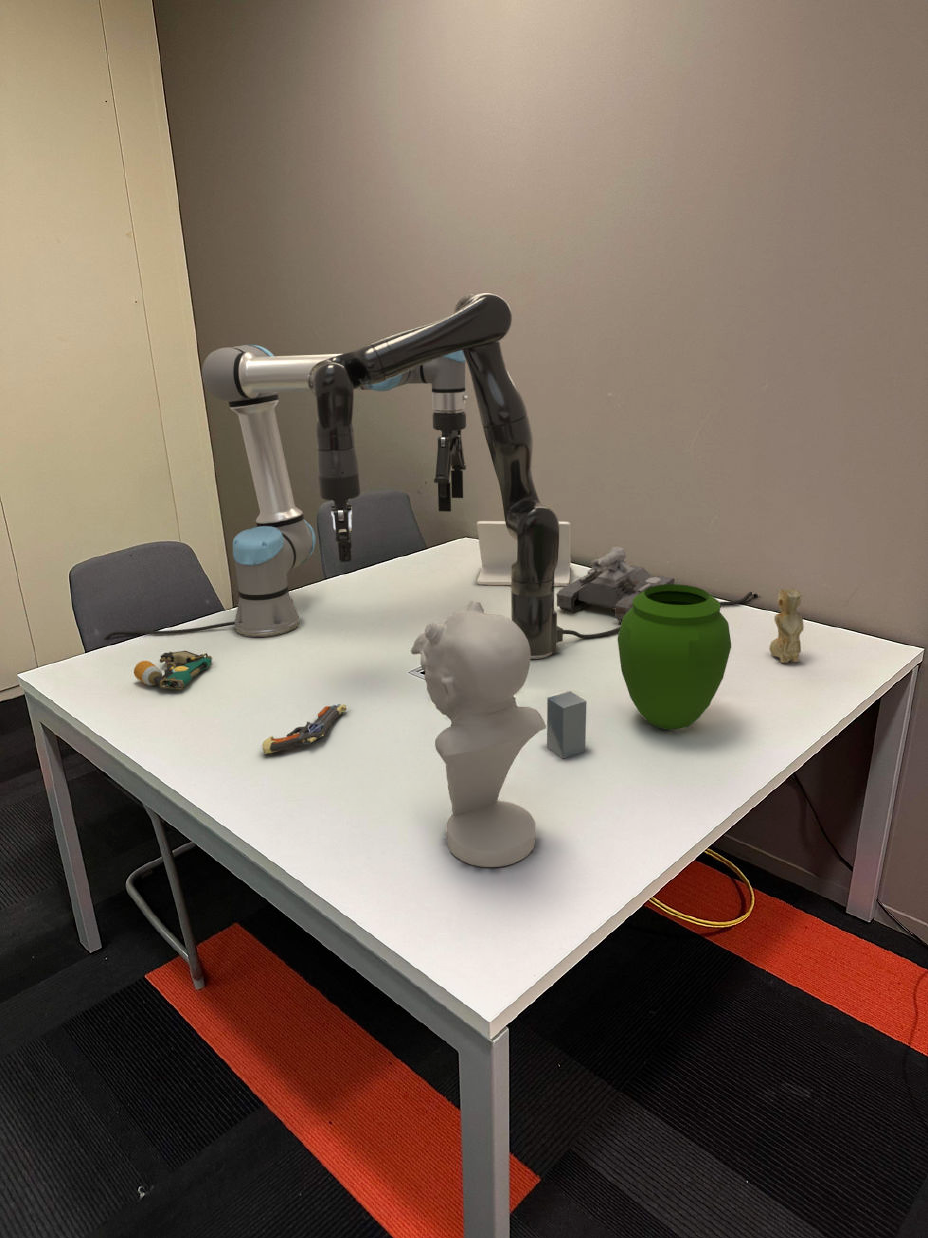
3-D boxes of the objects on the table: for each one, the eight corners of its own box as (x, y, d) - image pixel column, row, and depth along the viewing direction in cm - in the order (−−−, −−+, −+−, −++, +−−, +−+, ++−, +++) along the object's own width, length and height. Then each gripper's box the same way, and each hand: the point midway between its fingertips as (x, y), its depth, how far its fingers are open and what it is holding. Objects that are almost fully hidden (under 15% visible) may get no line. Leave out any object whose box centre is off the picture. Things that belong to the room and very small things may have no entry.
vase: (737, 711, 158) (749, 586, 150) (704, 757, 143) (715, 621, 134) (638, 689, 168) (643, 571, 160) (597, 730, 153) (601, 602, 144)
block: (569, 740, 150) (570, 690, 147) (585, 751, 146) (586, 701, 143) (546, 747, 148) (547, 697, 145) (562, 759, 144) (563, 708, 141)
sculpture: (791, 651, 184) (798, 585, 178) (805, 664, 177) (813, 596, 172) (764, 652, 183) (771, 586, 178) (777, 666, 177) (784, 597, 171)
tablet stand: (569, 585, 229) (570, 524, 223) (476, 584, 232) (475, 523, 226) (570, 566, 246) (571, 508, 240) (484, 564, 249) (483, 507, 243)
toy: (603, 584, 229) (605, 530, 224) (673, 597, 218) (677, 540, 213) (555, 612, 210) (556, 553, 205) (630, 627, 199) (633, 566, 194)
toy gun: (257, 744, 147) (311, 741, 145) (297, 702, 165) (346, 699, 162) (260, 758, 147) (314, 756, 145) (300, 715, 165) (349, 712, 163)
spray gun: (177, 659, 191) (231, 671, 185) (120, 684, 176) (176, 698, 171) (176, 641, 190) (230, 653, 184) (118, 665, 175) (174, 678, 169)
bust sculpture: (481, 772, 140) (476, 569, 128) (565, 848, 120) (569, 617, 108) (392, 800, 134) (378, 588, 121) (465, 886, 114) (457, 642, 101)
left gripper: (453, 418, 179) (455, 517, 186) (476, 404, 202) (477, 493, 209) (419, 418, 180) (422, 516, 188) (445, 404, 203) (447, 492, 211)
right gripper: (358, 478, 154) (365, 564, 160) (358, 464, 167) (364, 543, 173) (316, 480, 153) (325, 567, 159) (319, 466, 167) (327, 546, 172)
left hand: (451, 504), depth 199 cm, fingers open, 13 cm apart
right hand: (345, 554), depth 166 cm, fingers open, 8 cm apart
